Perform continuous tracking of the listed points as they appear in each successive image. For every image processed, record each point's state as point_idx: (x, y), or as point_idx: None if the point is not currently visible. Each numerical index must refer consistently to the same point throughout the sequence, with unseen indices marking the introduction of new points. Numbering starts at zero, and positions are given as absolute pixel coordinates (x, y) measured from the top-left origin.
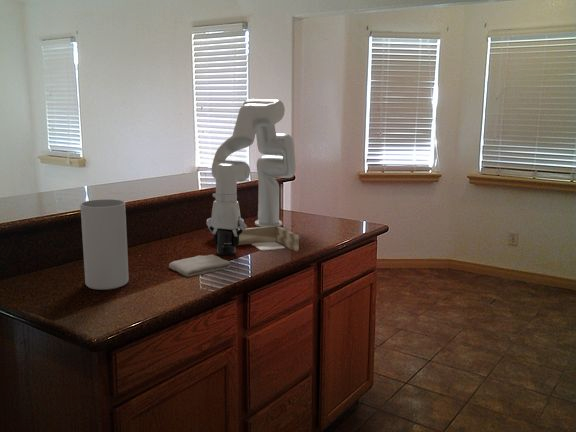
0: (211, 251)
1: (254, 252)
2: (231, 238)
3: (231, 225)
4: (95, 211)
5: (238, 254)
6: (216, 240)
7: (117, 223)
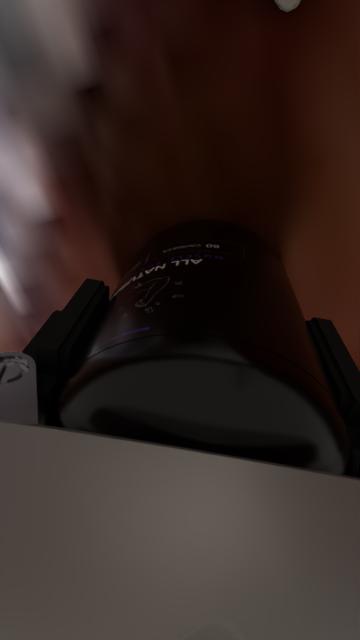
0: (342, 314)
1: (2, 342)
2: (95, 330)
3: None
4: None
5: (91, 273)
6: (322, 346)
7: None
